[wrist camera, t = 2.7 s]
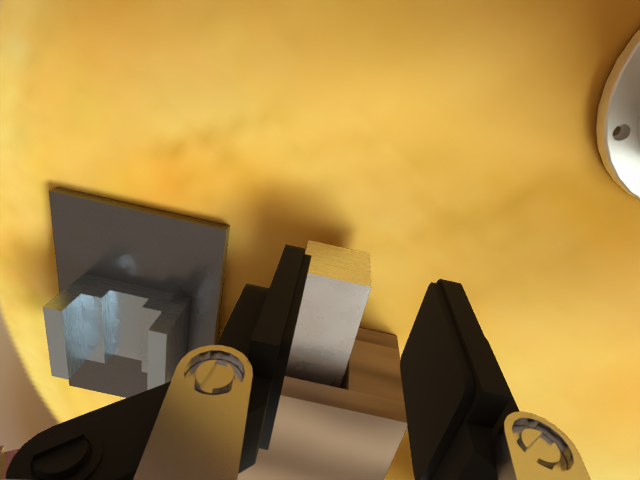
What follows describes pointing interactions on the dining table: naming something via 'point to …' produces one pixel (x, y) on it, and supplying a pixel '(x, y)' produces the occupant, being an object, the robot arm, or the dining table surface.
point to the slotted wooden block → (339, 420)
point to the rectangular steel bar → (329, 313)
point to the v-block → (130, 292)
